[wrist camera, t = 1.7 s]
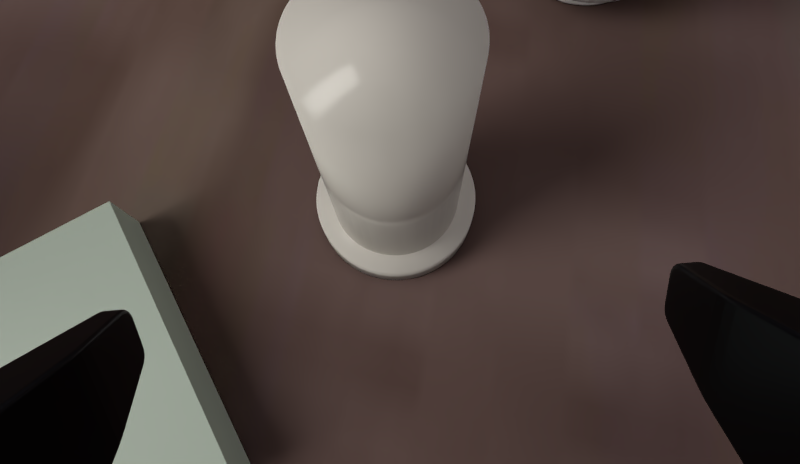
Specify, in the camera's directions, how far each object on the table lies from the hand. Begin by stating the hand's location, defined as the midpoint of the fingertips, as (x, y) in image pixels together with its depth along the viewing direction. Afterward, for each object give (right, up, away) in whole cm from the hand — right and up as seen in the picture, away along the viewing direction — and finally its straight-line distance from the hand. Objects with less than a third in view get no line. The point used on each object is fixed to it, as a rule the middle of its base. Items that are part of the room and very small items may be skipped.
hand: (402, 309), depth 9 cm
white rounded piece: (0, +2, +14) cm, 14 cm away
